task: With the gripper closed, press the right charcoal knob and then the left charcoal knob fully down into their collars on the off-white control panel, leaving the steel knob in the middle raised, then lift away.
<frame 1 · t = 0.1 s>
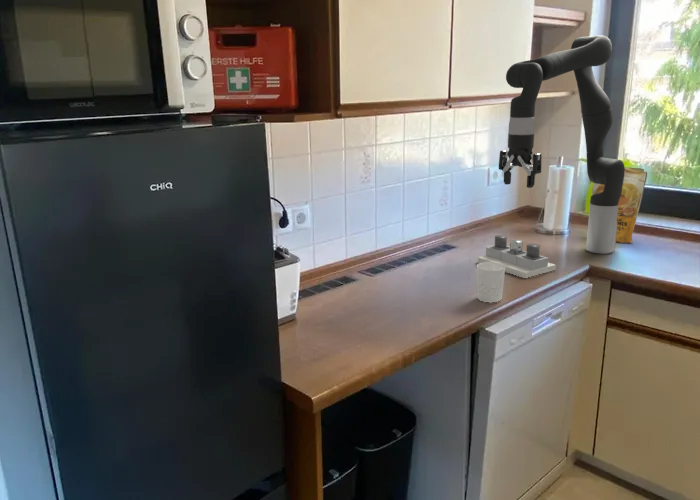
hand: (518, 185, 177), 29 cm above the counter, tool pointing down, fingers open, 8 cm apart
pancake mix bag: (611, 239, 223), on the counter
charcoal knob 1: (500, 241, 197), point 7 cm above the counter, slide at 3.0 cm
white cup: (489, 299, 165), on the counter
steel knob: (516, 246, 191), point 7 cm above the counter, slide at 3.0 cm
control panel: (515, 266, 193), on the counter
charcoal knob 2: (533, 250, 185), point 7 cm above the counter, slide at 3.0 cm
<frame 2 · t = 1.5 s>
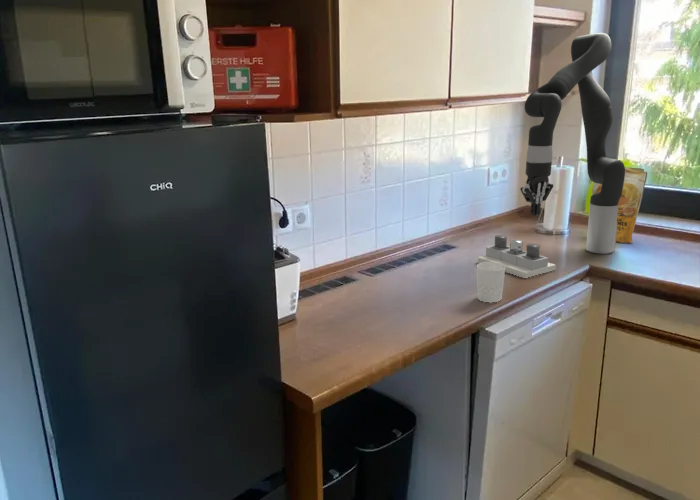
hand: (535, 214, 182), 19 cm above the counter, tool pointing down, fingers closed
nothing on the counter moved.
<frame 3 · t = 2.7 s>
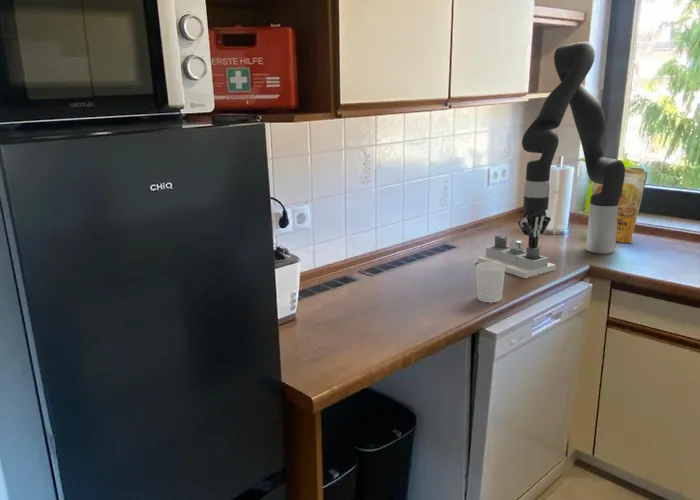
hand: (532, 247, 185), 8 cm above the counter, tool pointing down, fingers closed
charcoal knob 2: (532, 252, 186), point 6 cm above the counter, slide at 2.3 cm, touching gripper
everything else where it was.
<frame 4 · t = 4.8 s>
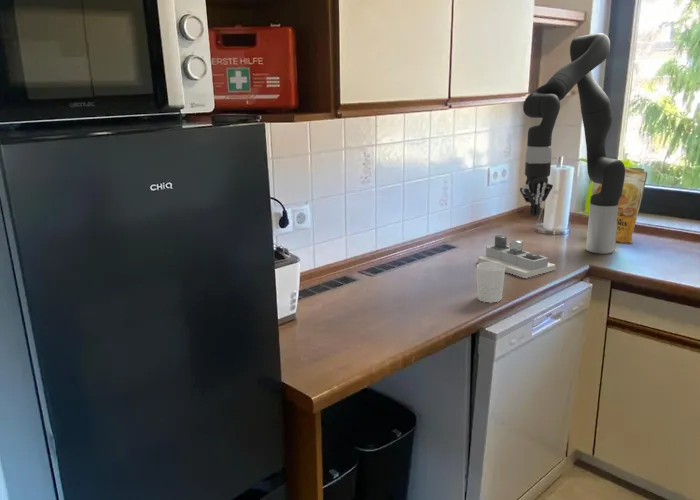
hand: (534, 215, 182), 19 cm above the counter, tool pointing down, fingers closed
charcoal knob 2: (532, 259, 186), point 4 cm above the counter, slide at -0.1 cm
everything else where it was.
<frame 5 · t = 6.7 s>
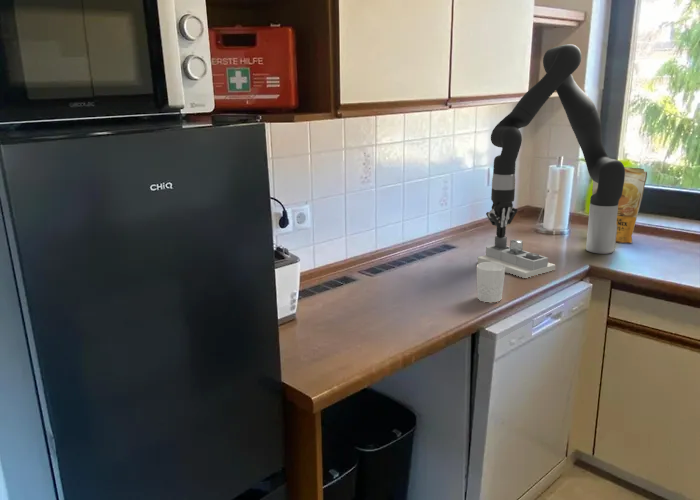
hand: (500, 237, 197), 9 cm above the counter, tool pointing down, fingers closed
charcoal knob 1: (500, 242, 197), point 7 cm above the counter, slide at 2.8 cm, touching gripper
everything else where it was.
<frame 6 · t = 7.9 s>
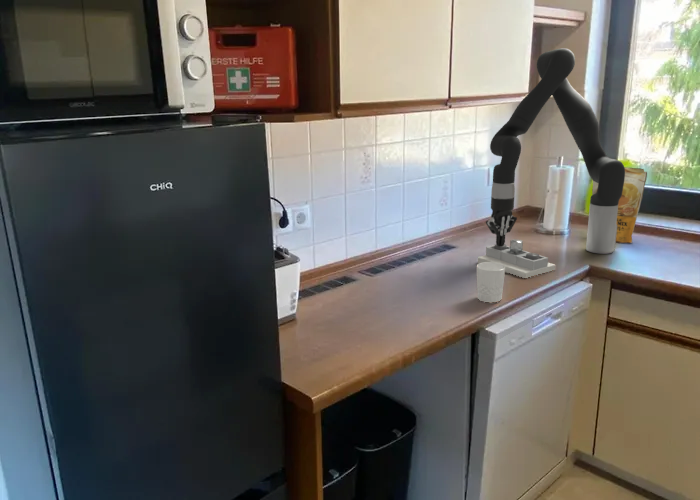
hand: (500, 245, 197), 6 cm above the counter, tool pointing down, fingers closed
charcoal knob 1: (500, 250, 198), point 4 cm above the counter, slide at -0.1 cm, touching gripper
everything else where it was.
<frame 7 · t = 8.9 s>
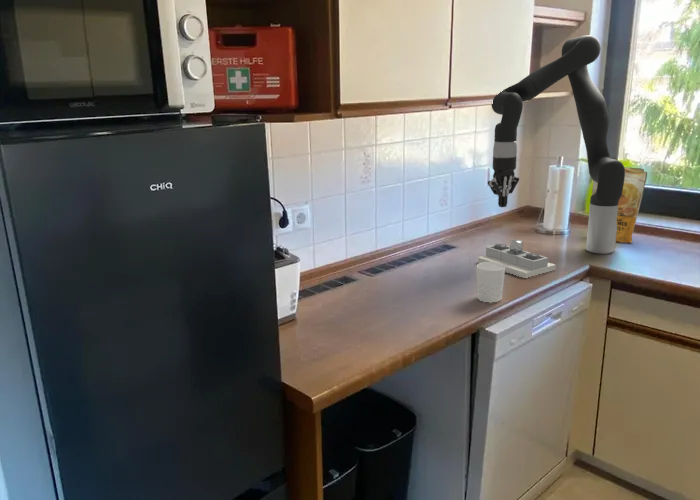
hand: (502, 206, 194), 19 cm above the counter, tool pointing down, fingers closed
charcoal knob 1: (500, 250, 198), point 4 cm above the counter, slide at -0.1 cm
everything else where it was.
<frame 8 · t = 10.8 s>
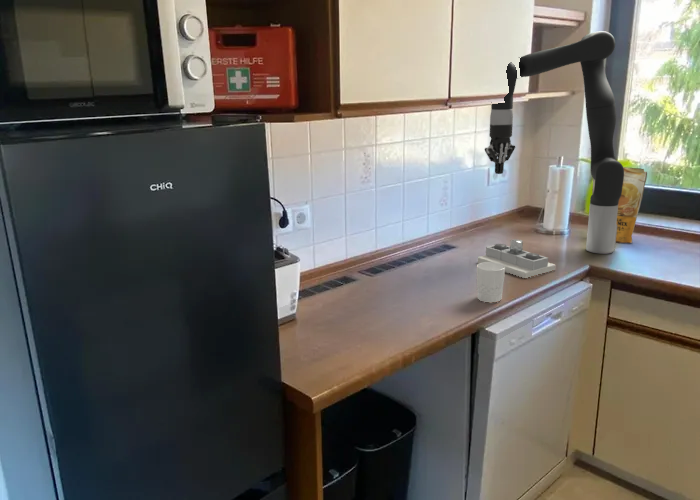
hand: (498, 173, 200), 29 cm above the counter, tool pointing down, fingers closed
nothing on the counter moved.
at the end: charcoal knob 2 slide at -0.1 cm; charcoal knob 1 slide at -0.1 cm; steel knob slide at 3.0 cm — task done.
